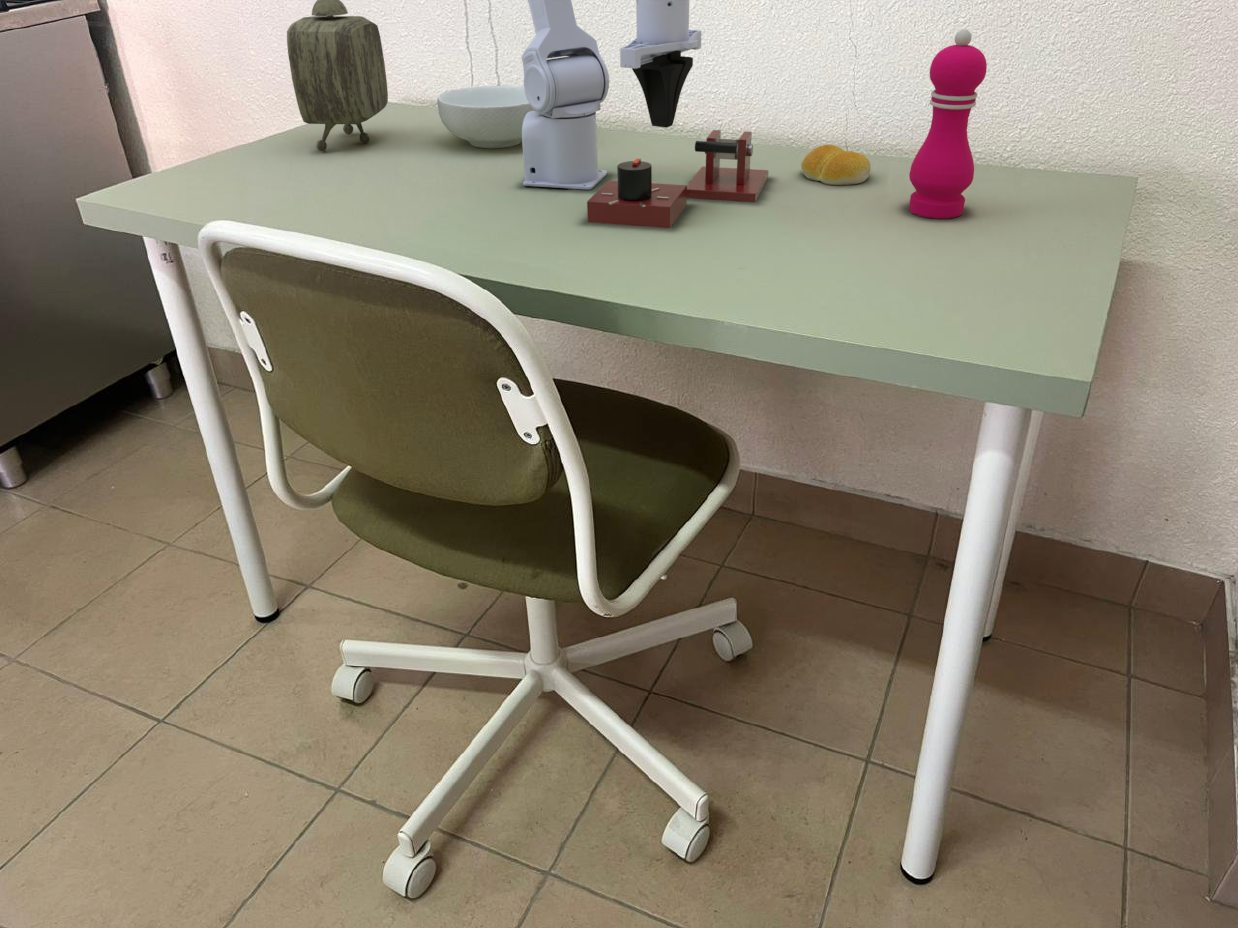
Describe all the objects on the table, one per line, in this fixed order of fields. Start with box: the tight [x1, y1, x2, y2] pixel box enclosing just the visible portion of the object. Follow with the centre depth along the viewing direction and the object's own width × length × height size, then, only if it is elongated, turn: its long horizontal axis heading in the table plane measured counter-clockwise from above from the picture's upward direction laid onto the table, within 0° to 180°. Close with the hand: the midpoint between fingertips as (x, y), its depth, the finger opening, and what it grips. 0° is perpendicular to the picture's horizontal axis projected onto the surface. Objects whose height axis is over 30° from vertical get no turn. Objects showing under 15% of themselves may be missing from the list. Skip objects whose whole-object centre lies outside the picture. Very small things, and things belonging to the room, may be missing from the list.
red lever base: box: [686, 129, 769, 203], centre depth 122 cm, size 11×9×7 cm
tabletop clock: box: [286, 0, 389, 152], centre depth 142 cm, size 14×9×25 cm, turn 172°
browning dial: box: [616, 158, 653, 201], centre depth 112 cm, size 4×4×4 cm
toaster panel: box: [586, 180, 688, 229], centre depth 114 cm, size 10×10×3 cm
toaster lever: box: [694, 138, 739, 161], centre depth 118 cm, size 11×5×2 cm, turn 164°
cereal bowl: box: [436, 85, 535, 149], centre depth 145 cm, size 17×17×7 cm
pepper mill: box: [908, 29, 988, 220], centre depth 109 cm, size 7×7×20 cm
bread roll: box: [800, 144, 872, 186], centre depth 126 cm, size 8×9×4 cm
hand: (662, 125), depth 110 cm, fingers closed
